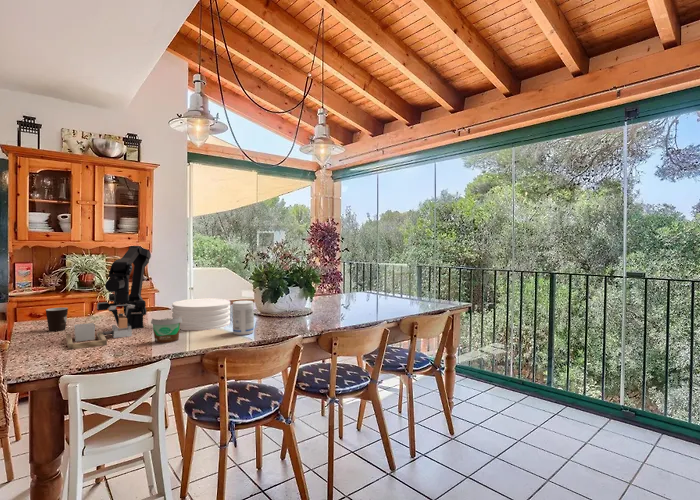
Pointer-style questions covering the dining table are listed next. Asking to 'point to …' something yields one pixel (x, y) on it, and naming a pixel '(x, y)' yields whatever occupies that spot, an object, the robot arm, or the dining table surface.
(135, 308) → the robot arm
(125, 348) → the dining table surface
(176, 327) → the food container
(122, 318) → the crank handle
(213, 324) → the plate stack
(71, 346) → the bay
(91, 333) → the tilted light grey box
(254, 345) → the dining table surface
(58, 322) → the coffee mug
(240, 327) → the supplement tub
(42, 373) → the dining table surface
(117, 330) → the block
